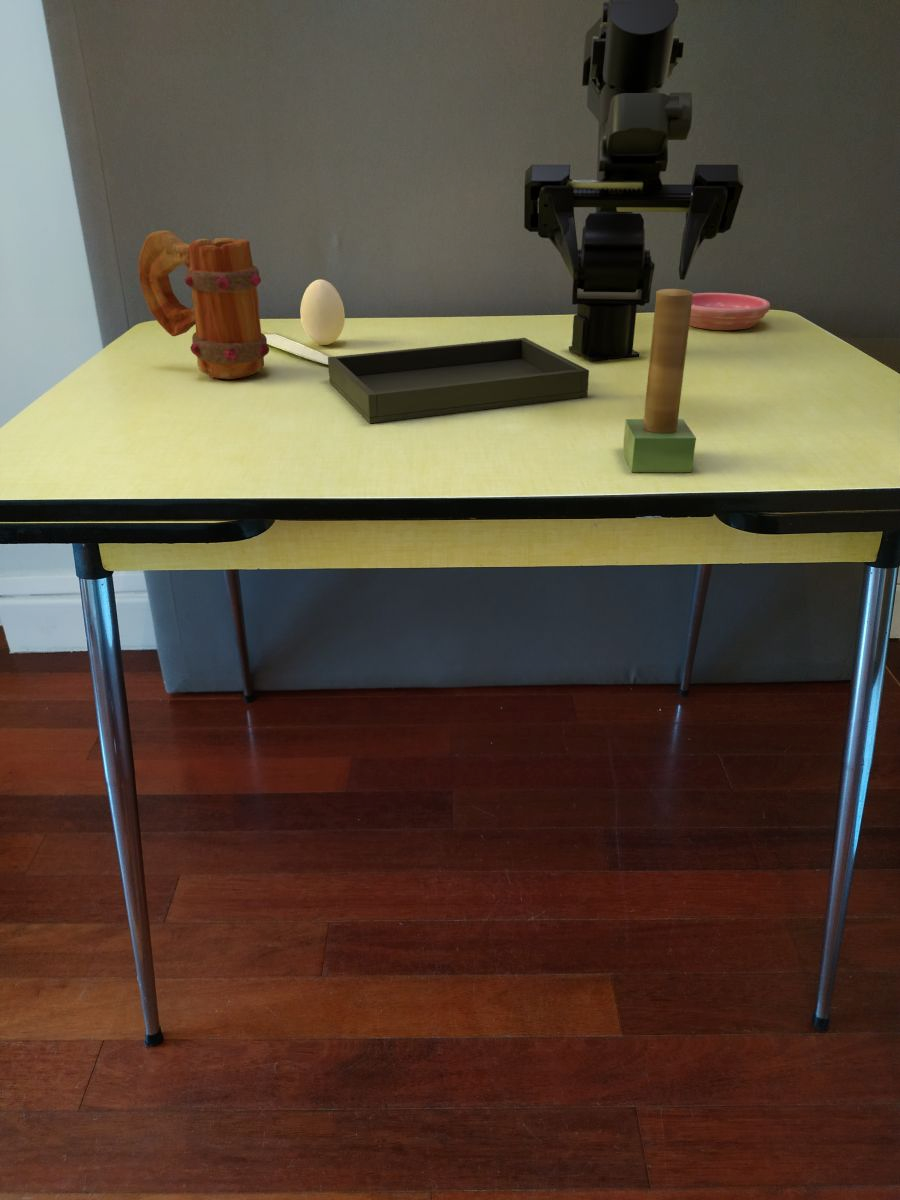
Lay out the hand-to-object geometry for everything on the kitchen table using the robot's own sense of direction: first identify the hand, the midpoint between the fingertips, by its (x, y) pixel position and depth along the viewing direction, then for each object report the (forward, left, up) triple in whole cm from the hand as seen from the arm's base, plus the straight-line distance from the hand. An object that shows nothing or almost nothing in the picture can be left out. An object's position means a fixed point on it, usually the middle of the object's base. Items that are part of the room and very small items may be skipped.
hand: (629, 275), depth 78 cm
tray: (+9, -18, -14) cm, 25 cm away
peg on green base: (+1, +9, -14) cm, 16 cm away
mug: (+32, -35, -14) cm, 50 cm away
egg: (+17, -43, -14) cm, 49 cm away
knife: (+23, -47, -14) cm, 54 cm away
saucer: (-36, -34, -14) cm, 52 cm away
